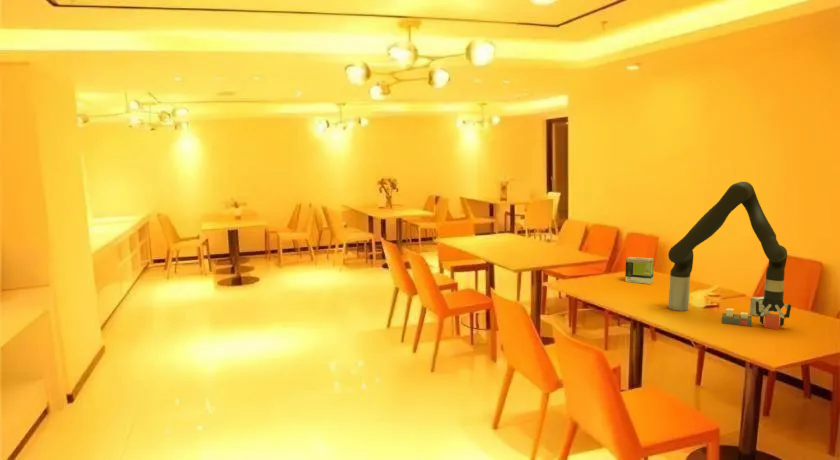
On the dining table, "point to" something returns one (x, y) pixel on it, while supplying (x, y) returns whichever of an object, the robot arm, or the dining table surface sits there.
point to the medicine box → (753, 306)
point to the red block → (771, 321)
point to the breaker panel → (736, 320)
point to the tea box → (639, 270)
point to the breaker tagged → (744, 315)
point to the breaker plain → (729, 312)
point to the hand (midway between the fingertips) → (771, 324)
